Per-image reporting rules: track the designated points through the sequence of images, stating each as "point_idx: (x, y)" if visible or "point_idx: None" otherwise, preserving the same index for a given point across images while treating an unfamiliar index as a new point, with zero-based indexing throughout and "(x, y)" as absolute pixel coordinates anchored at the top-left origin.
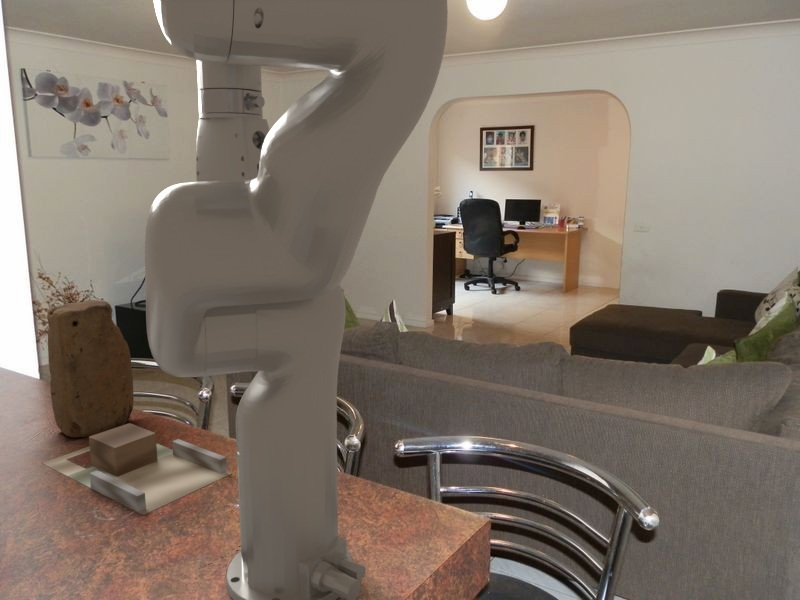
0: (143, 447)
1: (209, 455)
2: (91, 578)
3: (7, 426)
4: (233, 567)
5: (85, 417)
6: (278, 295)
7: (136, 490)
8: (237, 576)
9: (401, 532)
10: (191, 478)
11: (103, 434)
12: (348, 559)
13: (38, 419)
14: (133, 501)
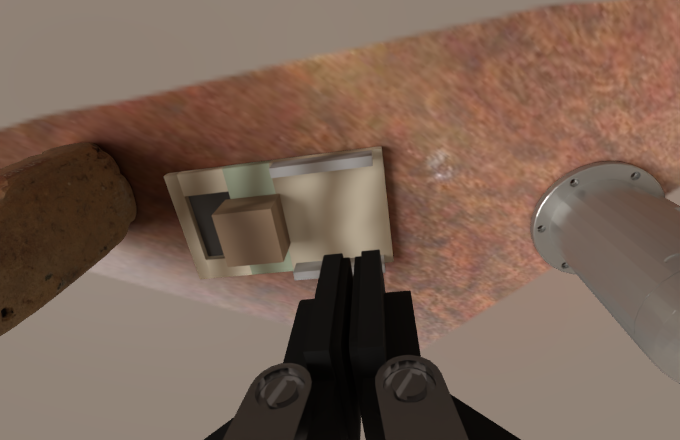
0: (278, 221)
1: (349, 168)
2: (441, 318)
3: None
4: (549, 257)
5: (123, 225)
6: None
7: None
8: (563, 261)
9: (660, 78)
10: (355, 190)
11: (231, 253)
12: (648, 179)
13: None
14: None
